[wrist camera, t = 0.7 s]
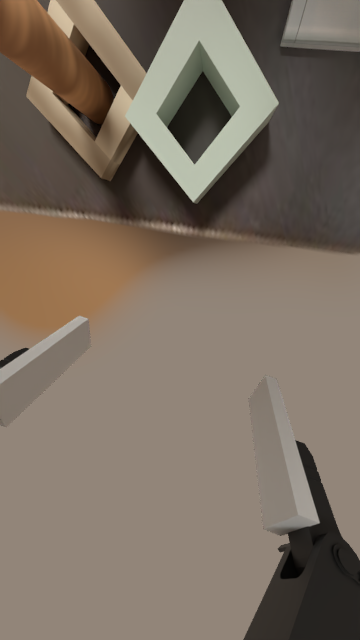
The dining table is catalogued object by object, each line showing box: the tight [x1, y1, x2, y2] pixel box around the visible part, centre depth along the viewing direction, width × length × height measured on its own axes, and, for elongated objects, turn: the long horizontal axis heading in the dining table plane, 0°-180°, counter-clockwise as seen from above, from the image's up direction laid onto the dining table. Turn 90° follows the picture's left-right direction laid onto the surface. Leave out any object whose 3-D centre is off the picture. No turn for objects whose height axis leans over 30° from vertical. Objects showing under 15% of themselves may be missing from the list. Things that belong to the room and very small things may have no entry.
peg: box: [0, 0, 113, 125], centre depth 16 cm, size 4×4×14 cm
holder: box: [26, 0, 147, 181], centre depth 21 cm, size 11×11×2 cm
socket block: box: [125, 0, 279, 204], centre depth 20 cm, size 11×11×4 cm
